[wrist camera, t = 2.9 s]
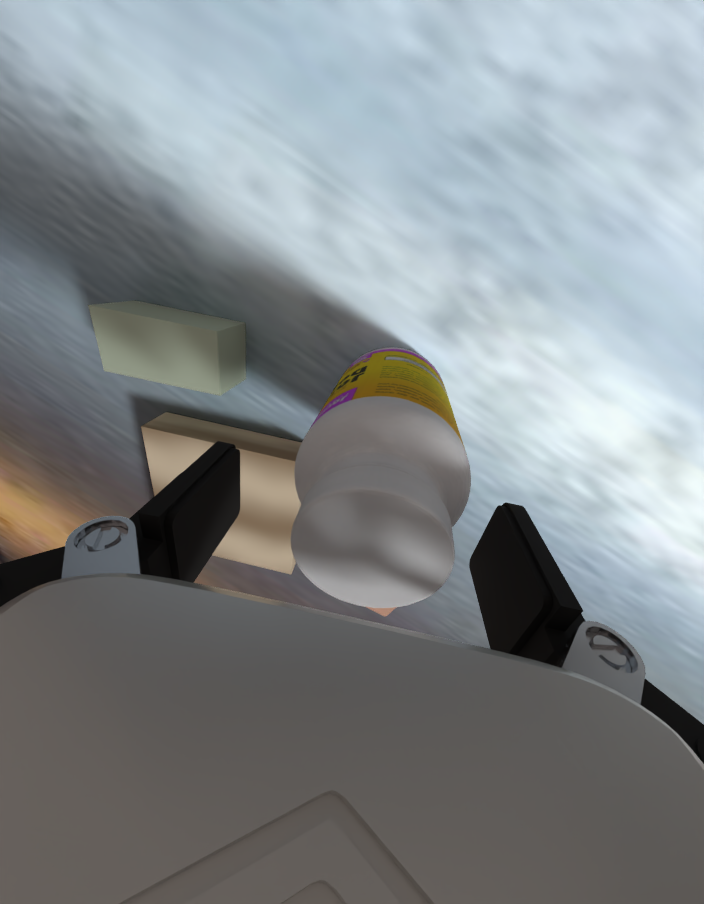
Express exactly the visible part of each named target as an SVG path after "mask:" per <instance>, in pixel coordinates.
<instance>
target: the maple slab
mask: <svg viewBox="0 0 704 904" xmlns="http://www.w3.org/2000/svg"><path fill="white" fill-rule="evenodd" d="M141 429H142V434H143V439H144V444H145V449H146V454H147V460H148V465H149V470H150V475H151V480H152V485H153V491H154V496H156V495H157V494H158V493H159V492H160V491H161V490H162V489H163V488H165V487H166V486H167V485H168V484H169V483H170V482H171V481H172V480H173V479H175V478H176V477H177V476H178V475H179V474H180V473H182V472H183V471H185V470H186V469H187V468H188V467H189V466H190V465H191V464H192V463H193V462H195V461H196V460H197V459H198V458H199V457H200V456H201V455H202V454H203V453H205V452H206V451H207V450H208V449H209V448H210V447H211V446H212V445H214V444H215V443H216V442H217V441H221V442H226V443H230V444H234V445H235V446H236V449H239V450H240V512H239V515H238V517H237V518H236V520H235V521H234V523H233V524H232V526H231V527H230V529H229V530H228V532H227V533H226V535H225V536H224V538H223V539H222V541H221V542H220V544H219V545H218V547H217V548H216V550H215V551H214V553H213V554H212V555H213V556H217V557H222V558H226V559H230V560H234V561H238V562H242V563H246V564H250V565H254V566H259V567H263V568H267V569H271V570H275V571H279V572H283V573H287V574H292V571H293V569H294V566H295V563H296V561H295V559H294V556H293V553H292V549H291V539H290V538H291V531H292V527H293V523H294V521H295V518H296V516H297V514H298V512H299V509H300V507H301V502H300V500H299V497H298V494H297V491H296V486H295V477H294V468H295V461H296V457H297V454H298V451H299V448H300V445H301V443H302V442H297V441H293V440H288V439H284V438H279V437H275V436H271V435H266V434H262V433H257V432H253V431H248V430H244V429H239V428H235V427H230V426H226V425H222V424H217V423H213V422H208V421H204V420H199V419H195V418H190V417H186V416H182V415H177V414H173V413H168V412H165V413H163V414H162V415H160V416H158V417H157V418H155V419H153V420H151V421H150V422H148V423H146V424H144V425H143V426H141Z"/></svg>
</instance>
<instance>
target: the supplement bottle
mask: <svg viewBox="0 0 704 904" xmlns="http://www.w3.org/2000/svg"><path fill="white" fill-rule="evenodd" d="M294 477H295V486H296V491H297V494H298V497H299V500H300V502H301V507H300V509H299V512H298V514H297V516H296V518H295V521H294V523H293V527H292V531H291V538H290V539H291V549H292V553H293V556H294V559H295V561H296V563H297V565H298V566H299V568H300V569H301V571H302V572H303V573H304V575H305V576H306V577H307V578H308V579H309V580H310V581H311V582H312V583H313V584H315V585H316V586H317V587H318V588H320V589H321V590H323V591H324V592H326V593H327V594H329V595H331V596H333V597H335V598H337V599H340V600H342V601H345V602H348V603H352V604H355V605H360V606H365V607H371V608H393V607H401V606H406V605H409V604H413V603H415V602H418V601H421V600H423V599H425V598H427V597H429V596H430V595H432V594H433V593H435V592H436V591H437V590H438V589H439V588H440V587H441V586H442V585H443V584H444V583H445V582H446V580H447V579H448V577H449V575H450V573H451V571H452V567H453V564H454V557H455V551H454V541H453V534H452V527H453V526H454V525H455V523H456V522H457V521H458V519H459V518H460V516H461V515H462V513H463V511H464V508H465V506H466V504H467V501H468V497H469V493H470V486H471V474H470V465H469V461H468V458H467V454H466V451H465V448H464V445H463V442H462V439H461V436H460V433H459V430H458V427H457V424H456V421H455V418H454V414H453V411H452V408H451V405H450V402H449V399H448V396H447V392H446V389H445V387H444V384H443V381H442V379H441V377H440V375H439V373H438V372H437V370H436V369H435V367H434V366H433V365H432V364H431V363H430V362H429V361H428V360H427V359H425V358H424V357H422V356H421V355H419V354H417V353H415V352H413V351H410V350H407V349H403V348H396V347H387V348H380V349H376V350H373V351H370V352H368V353H366V354H364V355H362V356H361V357H359V358H358V359H356V360H355V361H354V362H353V363H352V364H351V365H350V366H349V367H348V369H347V370H346V371H345V373H344V374H343V376H342V377H341V379H340V380H339V382H338V384H337V385H336V387H335V388H334V390H333V392H332V393H331V395H330V397H329V398H328V400H327V401H326V403H325V405H324V406H323V408H322V410H321V411H320V413H319V415H318V416H317V418H316V420H315V421H314V423H313V424H312V426H311V428H310V429H309V431H308V432H307V434H306V436H305V438H304V439H303V441H302V443H301V445H300V448H299V451H298V454H297V457H296V461H295V468H294Z"/></svg>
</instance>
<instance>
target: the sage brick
mask: <svg viewBox="0 0 704 904" xmlns="http://www.w3.org/2000/svg"><path fill="white" fill-rule="evenodd" d="M88 306H89V310H90V314H91V319H92V323H93V327H94V331H95V335H96V339H97V343H98V347H99V352H100V356H101V360H102V364H103V368H104V371H107V372H112V373H117V374H121V375H126V376H131V377H135V378H140V379H145V380H149V381H154V382H159V383H163V384H168V385H173V386H177V387H182V388H187V389H191V390H196V391H201V392H205V393H210V394H215V395H219V396H221V395H222V394H224V393H225V392H227V391H228V390H230V389H231V388H233V387H235V386H236V385H238V384H239V383H241V382H242V381H244V380H245V379H246V324H245V323H244V322H239V321H234V320H229V319H224V318H219V317H214V316H210V315H205V314H200V313H195V312H190V311H185V310H180V309H175V308H170V307H165V306H160V305H155V304H150V303H145V302H140V301H136V300H135V301H125V302H114V303H104V304H93V305H88Z"/></svg>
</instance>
